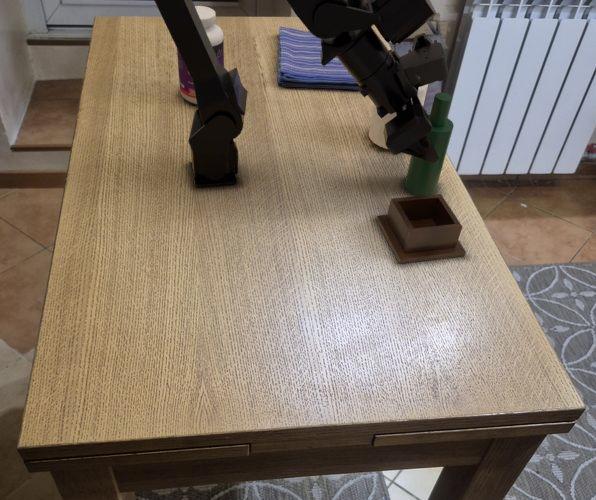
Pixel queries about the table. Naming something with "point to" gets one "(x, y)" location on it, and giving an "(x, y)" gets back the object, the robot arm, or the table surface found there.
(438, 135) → the bottle
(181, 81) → the pill bottle
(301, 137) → the table surface
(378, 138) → the beverage can
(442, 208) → the holder
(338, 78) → the dish towel
